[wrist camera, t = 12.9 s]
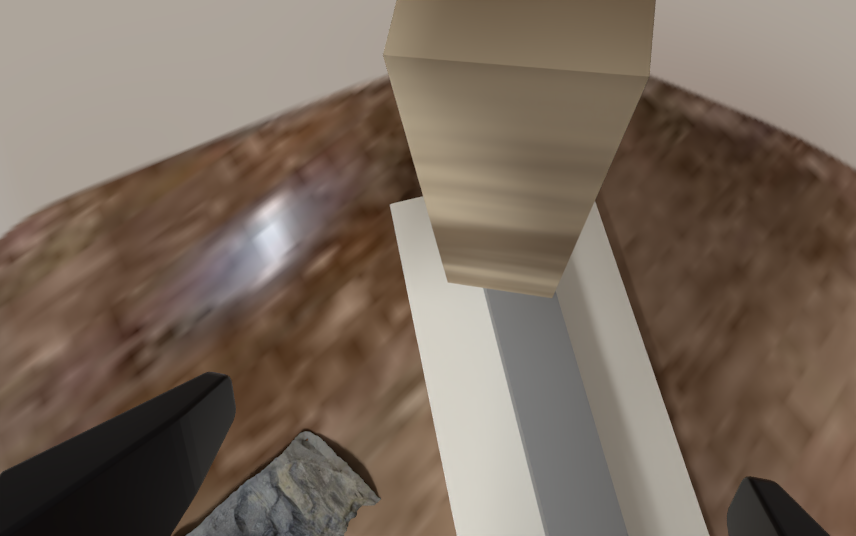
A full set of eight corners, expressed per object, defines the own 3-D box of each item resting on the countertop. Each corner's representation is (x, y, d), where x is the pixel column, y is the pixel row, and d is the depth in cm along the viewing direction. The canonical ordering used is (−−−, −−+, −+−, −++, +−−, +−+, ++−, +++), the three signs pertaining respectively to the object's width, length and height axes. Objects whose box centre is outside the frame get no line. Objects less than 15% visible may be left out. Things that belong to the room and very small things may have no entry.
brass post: (552, 298, 20) (649, 77, 8) (447, 282, 21) (382, 54, 8) (564, 201, 21) (666, -128, 9) (464, 189, 22) (429, -133, 9)
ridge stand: (763, 723, 18) (824, 786, 15) (507, 772, 19) (511, 844, 15) (577, 168, 25) (590, 128, 22) (393, 212, 26) (379, 179, 22)
